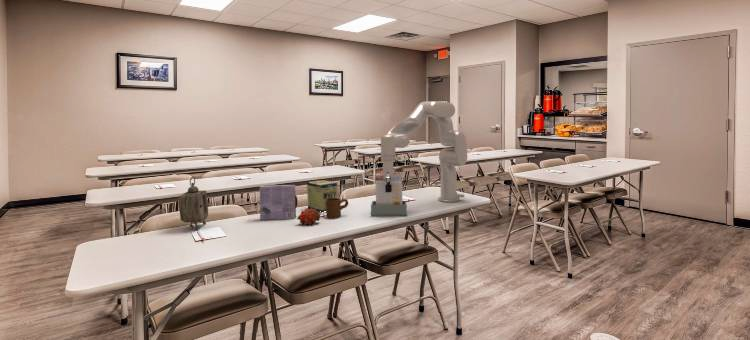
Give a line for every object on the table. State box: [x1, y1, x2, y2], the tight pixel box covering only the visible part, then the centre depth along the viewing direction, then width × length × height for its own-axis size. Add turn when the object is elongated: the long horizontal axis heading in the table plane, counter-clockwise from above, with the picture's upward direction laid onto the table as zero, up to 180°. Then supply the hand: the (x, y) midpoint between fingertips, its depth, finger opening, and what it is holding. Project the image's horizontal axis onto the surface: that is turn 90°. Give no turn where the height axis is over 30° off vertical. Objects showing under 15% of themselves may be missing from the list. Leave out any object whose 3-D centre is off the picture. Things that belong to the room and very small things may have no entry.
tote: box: [370, 200, 408, 217], centre depth 231 cm, size 19×11×6 cm, turn 86°
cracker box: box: [374, 172, 403, 205], centre depth 230 cm, size 14×6×21 cm, turn 85°
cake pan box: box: [259, 184, 298, 221], centre depth 225 cm, size 19×5×18 cm, turn 100°
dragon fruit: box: [296, 208, 321, 226], centre depth 214 cm, size 8×8×12 cm
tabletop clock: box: [178, 176, 209, 230], centre depth 210 cm, size 14×9×25 cm, turn 5°
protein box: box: [306, 179, 338, 213], centre depth 245 cm, size 10×16×16 cm
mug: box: [325, 197, 349, 219], centre depth 228 cm, size 12×8×9 cm, turn 110°
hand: (388, 190), depth 230 cm, fingers open, 9 cm apart
